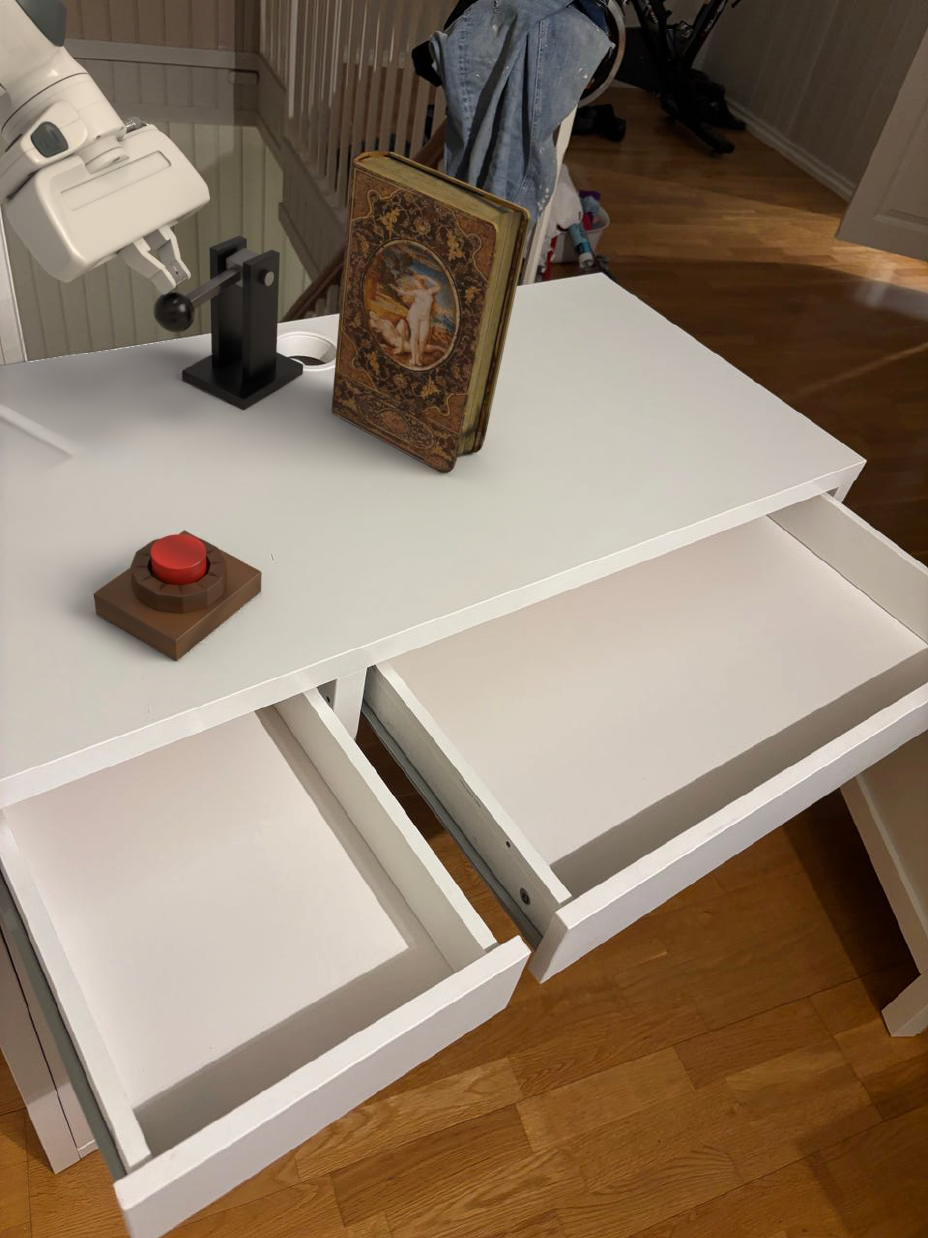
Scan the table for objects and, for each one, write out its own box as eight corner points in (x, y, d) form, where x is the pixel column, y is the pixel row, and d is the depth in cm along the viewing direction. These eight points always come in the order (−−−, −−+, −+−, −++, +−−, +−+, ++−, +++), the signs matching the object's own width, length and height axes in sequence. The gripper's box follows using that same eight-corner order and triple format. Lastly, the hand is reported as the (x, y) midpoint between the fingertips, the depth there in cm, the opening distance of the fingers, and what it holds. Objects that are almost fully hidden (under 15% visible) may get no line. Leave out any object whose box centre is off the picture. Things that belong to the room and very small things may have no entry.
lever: (178, 345, 86) (173, 309, 83) (148, 330, 86) (142, 295, 84) (269, 285, 94) (267, 251, 91) (240, 272, 94) (238, 238, 92)
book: (323, 408, 98) (341, 157, 81) (356, 390, 102) (380, 146, 85) (451, 478, 93) (499, 226, 76) (481, 456, 97) (534, 211, 80)
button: (181, 593, 70) (180, 575, 69) (140, 570, 72) (138, 552, 70) (217, 566, 73) (217, 548, 72) (177, 544, 74) (176, 526, 73)
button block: (176, 661, 70) (174, 623, 68) (95, 614, 72) (90, 575, 70) (261, 591, 77) (262, 554, 75) (185, 549, 79) (183, 512, 77)
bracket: (243, 410, 96) (244, 280, 86) (182, 380, 98) (176, 249, 88) (303, 373, 102) (309, 249, 93) (244, 346, 104) (245, 222, 95)
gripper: (124, 131, 88) (217, 264, 94) (-33, 192, 74) (88, 345, 79) (163, 92, 85) (258, 232, 90) (6, 148, 70) (131, 312, 75)
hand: (178, 286), depth 84 cm, fingers closed
